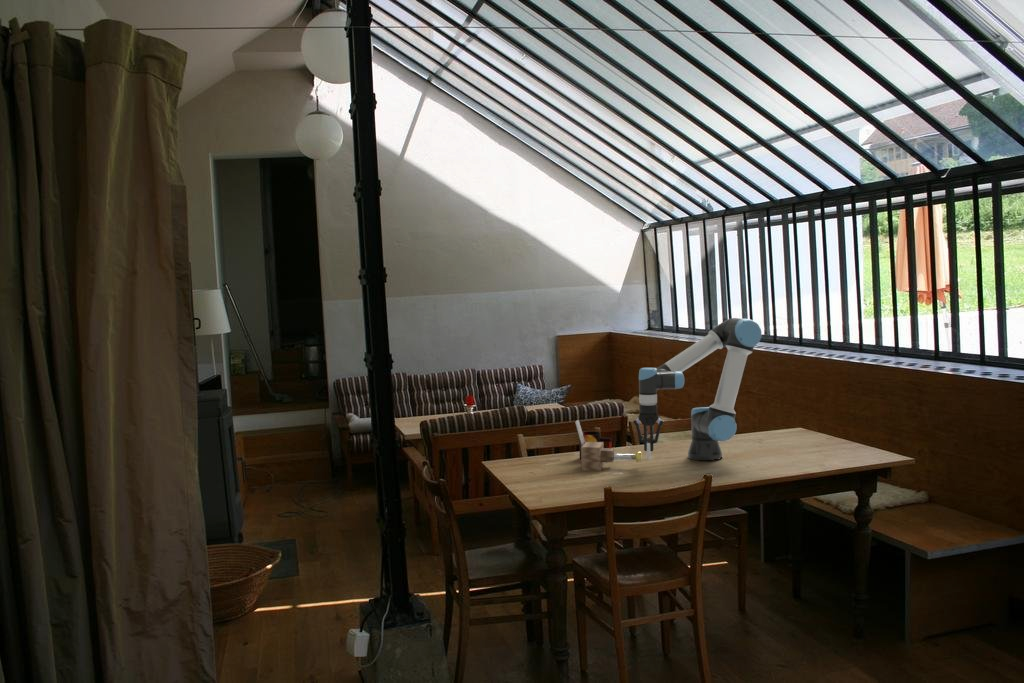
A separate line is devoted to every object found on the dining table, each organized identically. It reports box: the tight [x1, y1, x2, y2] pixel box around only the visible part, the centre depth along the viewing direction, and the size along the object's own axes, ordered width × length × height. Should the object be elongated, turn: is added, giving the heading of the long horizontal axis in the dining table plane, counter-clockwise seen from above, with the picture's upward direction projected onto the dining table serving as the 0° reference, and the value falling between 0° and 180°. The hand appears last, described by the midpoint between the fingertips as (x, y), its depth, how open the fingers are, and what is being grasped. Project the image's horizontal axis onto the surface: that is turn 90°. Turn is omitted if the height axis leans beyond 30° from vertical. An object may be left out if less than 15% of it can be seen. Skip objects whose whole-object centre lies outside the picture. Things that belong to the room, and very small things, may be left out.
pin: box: [613, 451, 643, 464], centre depth 363 cm, size 20×5×5 cm, turn 75°
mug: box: [578, 430, 612, 461], centre depth 384 cm, size 10×14×12 cm
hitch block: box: [580, 441, 615, 472], centre depth 365 cm, size 14×12×11 cm
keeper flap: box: [574, 419, 585, 444], centre depth 367 cm, size 10×4×1 cm
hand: (648, 458), depth 360 cm, fingers closed
